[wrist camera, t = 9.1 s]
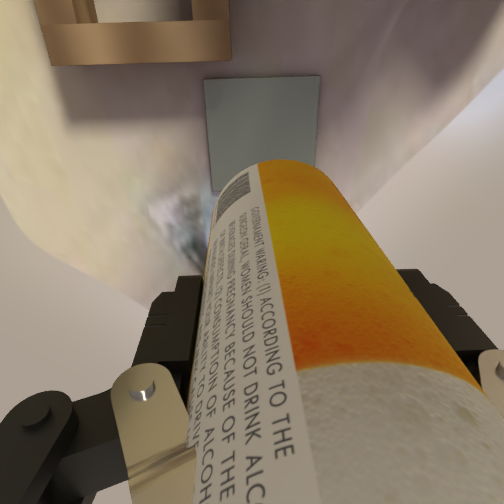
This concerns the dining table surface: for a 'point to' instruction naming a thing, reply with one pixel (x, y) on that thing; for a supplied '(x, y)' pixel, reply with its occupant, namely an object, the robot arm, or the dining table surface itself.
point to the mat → (259, 122)
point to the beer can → (325, 363)
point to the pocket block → (133, 35)
